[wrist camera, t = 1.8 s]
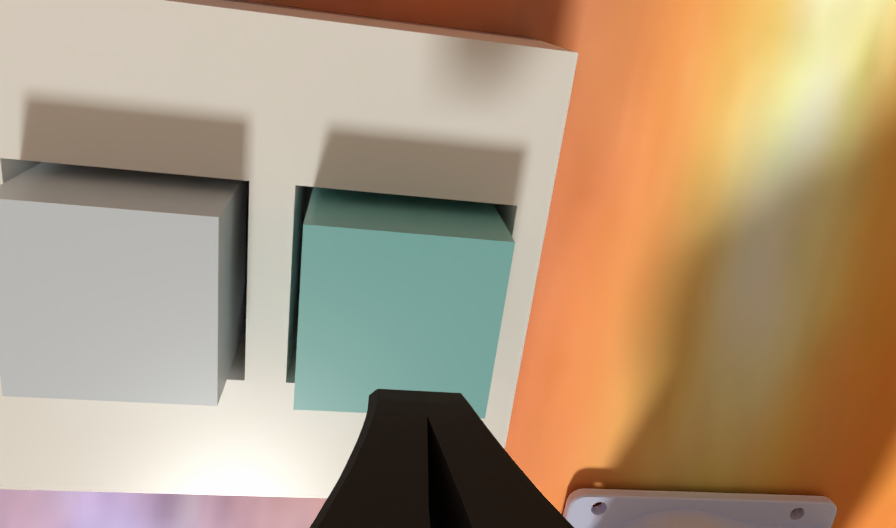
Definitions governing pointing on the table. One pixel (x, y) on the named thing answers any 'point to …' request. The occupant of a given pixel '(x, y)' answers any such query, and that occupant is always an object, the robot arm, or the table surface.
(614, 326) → the table surface
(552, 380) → the table surface
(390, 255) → the teal key
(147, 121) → the keypad
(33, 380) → the grey key
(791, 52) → the table surface
